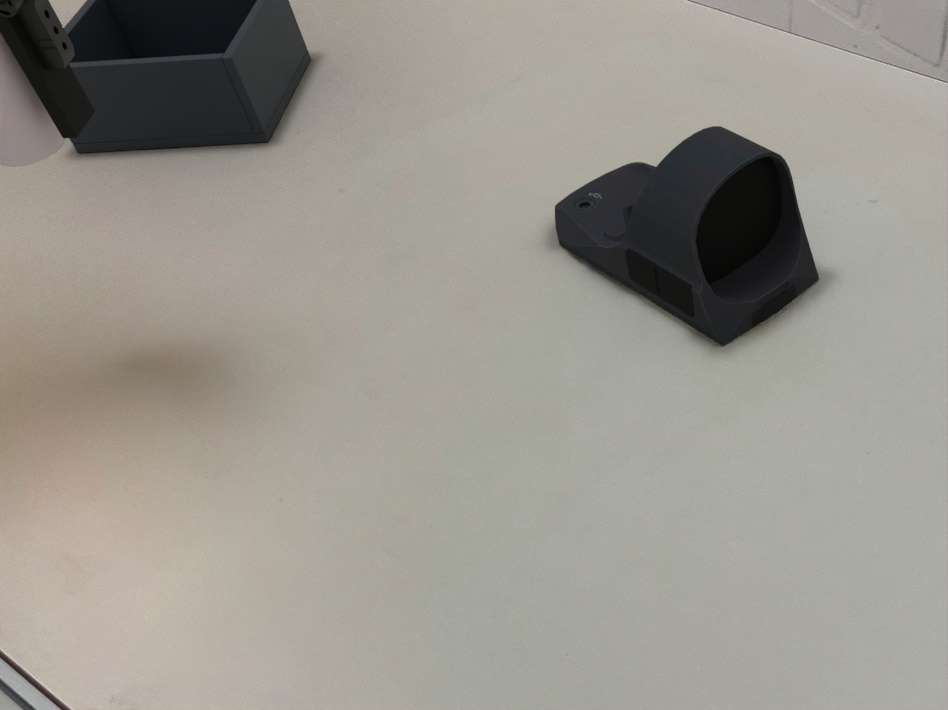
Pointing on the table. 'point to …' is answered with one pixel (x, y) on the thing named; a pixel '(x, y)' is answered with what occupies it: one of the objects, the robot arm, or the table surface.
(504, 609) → the table surface
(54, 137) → the smoothie
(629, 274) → the sight
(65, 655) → the table surface
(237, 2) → the bin
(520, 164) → the table surface
